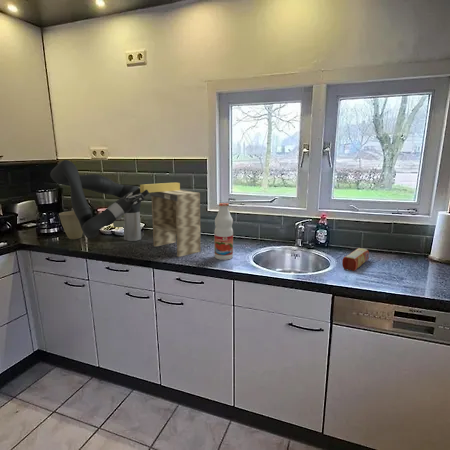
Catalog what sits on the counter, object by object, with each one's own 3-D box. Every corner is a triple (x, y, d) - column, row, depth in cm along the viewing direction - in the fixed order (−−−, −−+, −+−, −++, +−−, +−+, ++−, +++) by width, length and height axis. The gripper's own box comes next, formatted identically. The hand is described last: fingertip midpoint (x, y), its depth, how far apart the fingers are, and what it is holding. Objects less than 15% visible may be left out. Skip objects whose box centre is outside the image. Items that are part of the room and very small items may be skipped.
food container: (134, 231, 214) (133, 217, 212) (130, 234, 208) (129, 219, 206) (116, 231, 215) (115, 216, 213) (112, 233, 209) (111, 218, 207)
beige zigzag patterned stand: (174, 241, 191) (172, 188, 184) (200, 251, 172) (200, 192, 165) (151, 246, 181) (149, 190, 174) (177, 257, 162) (175, 195, 155)
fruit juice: (232, 254, 167) (232, 202, 161) (233, 260, 158) (234, 204, 152) (214, 254, 167) (214, 201, 161) (214, 260, 158) (214, 204, 152)
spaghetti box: (176, 189, 179) (175, 182, 178) (179, 190, 176) (179, 182, 176) (140, 192, 165) (139, 184, 164) (144, 193, 162) (143, 185, 161)
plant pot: (82, 233, 208) (80, 209, 204) (91, 238, 197) (89, 213, 194) (58, 237, 198) (55, 212, 195) (65, 242, 187) (63, 216, 184)
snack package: (356, 258, 163) (357, 245, 162) (369, 261, 159) (371, 248, 158) (341, 269, 147) (342, 255, 146) (355, 272, 143) (357, 258, 142)
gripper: (120, 204, 149) (146, 185, 157) (108, 201, 160) (133, 183, 167) (129, 217, 153) (154, 197, 161) (116, 212, 164) (140, 195, 171)
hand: (143, 190), depth 164 cm, fingers open, 8 cm apart
